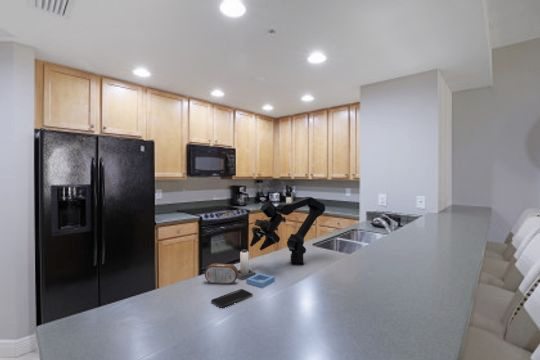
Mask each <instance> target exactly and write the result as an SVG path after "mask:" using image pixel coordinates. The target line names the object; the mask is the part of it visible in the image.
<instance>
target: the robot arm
mask: <svg viewBox="0 0 540 360" xmlns="http://www.w3.org/2000/svg"><path fill="white" fill-rule="evenodd" d="M306 206H307V207H308V209H309V210H308V215H307V216H306V217H305V219H304V221H303V222H302V224H301V226H300V227H299V228H298V230H297V231H296V233H291V234H290V235H289V236H288V238H287V242H286V246H287V248H288V251H289V252H291V254H290V263H291V265H293V266H303V265H305V264H304V254H306V252H307V248H306V247H305V246H304V244H305V237H306V235H308V233H309V231H310V229H311V227H312V226H313V225H314V223H315V221H316V220H317V219H318V218H319V217H321V216H322V215H323V214H324V212H325V211H326V206H325V203H323V202H320V201H318V200H317V199H315V198H313V197H312V196H305V197H304V198H299V199H297V200H294V201H291V202H285V203H279V204H278V205H277V206H275V205H274V203H273V202H272V201H271V200H268V201H267V202H266V203H263V204H262V205H261V206H260V212H262V214H264V215H265V217H267V218H268V220H267V219H263V220H262V219H258V218H256V220H255V221H254V226H253V228H251V232H252V239H251V241H250V244H249V246H250V247H253V246H255V245H256V244H257V243H258V242H260V241H261V240H262V238H264V237H265V239H264V241H263V242H262V244H261V246H260V247H259V250H260V251H263V250H265V249H266V248H268V247H270V246H272V245H275V244H278V243H279V242H280V240H281V237H280V236H279V235H278V234H277V233H276V231H277V232H278V229H279V228H278V227H279V226H280V225H281V223H286V222H287V220H286V216H290V215H291V214H292V213H294V211H295V210H298V209H300V208H303V207H306Z"/></svg>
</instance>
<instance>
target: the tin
mask: <svg viewBox="0 0 540 360" xmlns="http://www.w3.org/2000/svg"><path fill="white" fill-rule="evenodd" d="M238 270H239V269H238V268H237V267H236V266H235V265H234V264H232V263H231V264H230V263H211V264H209V265H208V266H207V267H206V268H205V271H204V279H205V280H206V281H207V282H208V283H210V284H217V285H218V284H221V285H231V284H234V283H235V281H237V279H239V278H238Z"/></svg>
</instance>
